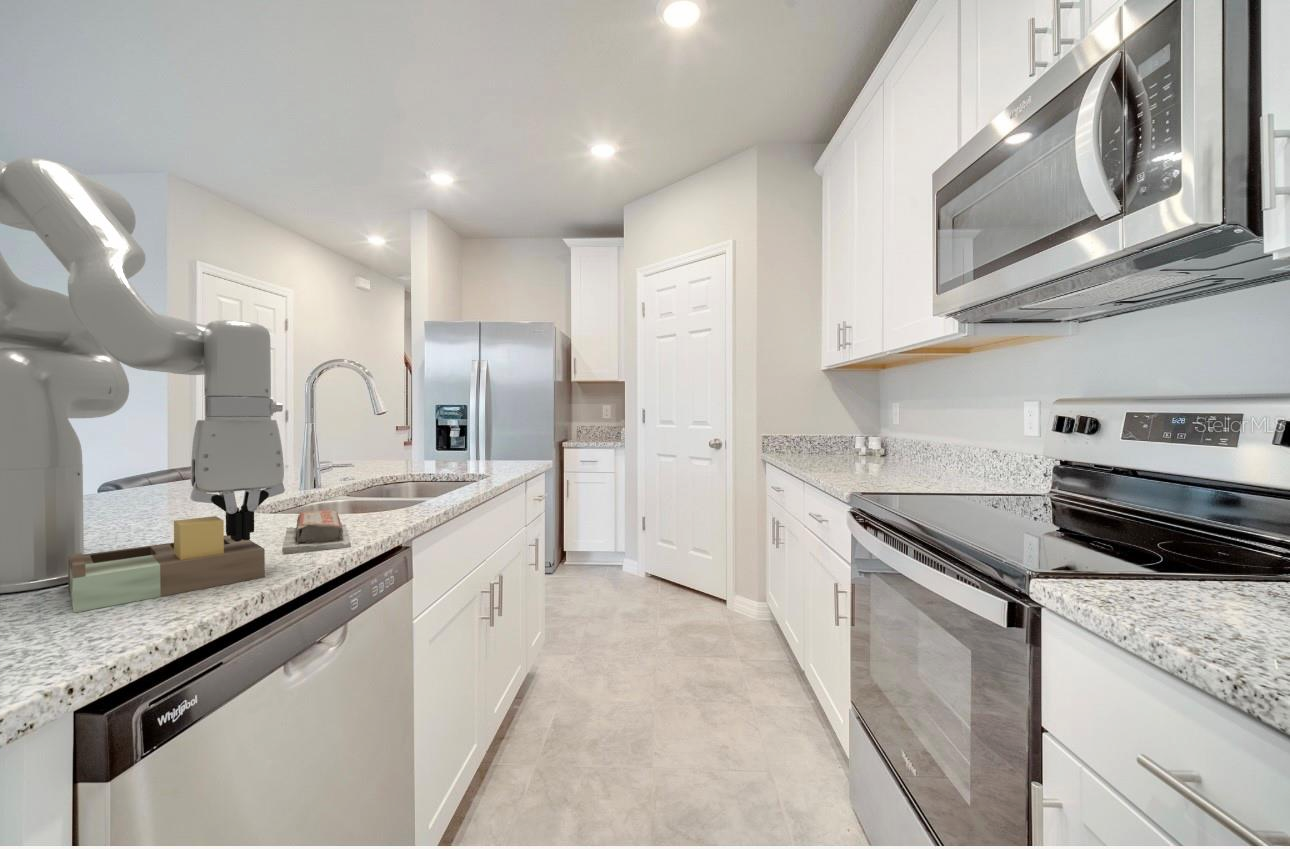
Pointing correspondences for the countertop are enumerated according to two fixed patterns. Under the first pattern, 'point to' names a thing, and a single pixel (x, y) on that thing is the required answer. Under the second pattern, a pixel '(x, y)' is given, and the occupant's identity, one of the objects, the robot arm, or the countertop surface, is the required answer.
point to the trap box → (156, 573)
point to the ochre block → (198, 537)
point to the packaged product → (316, 533)
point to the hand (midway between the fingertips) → (240, 539)
